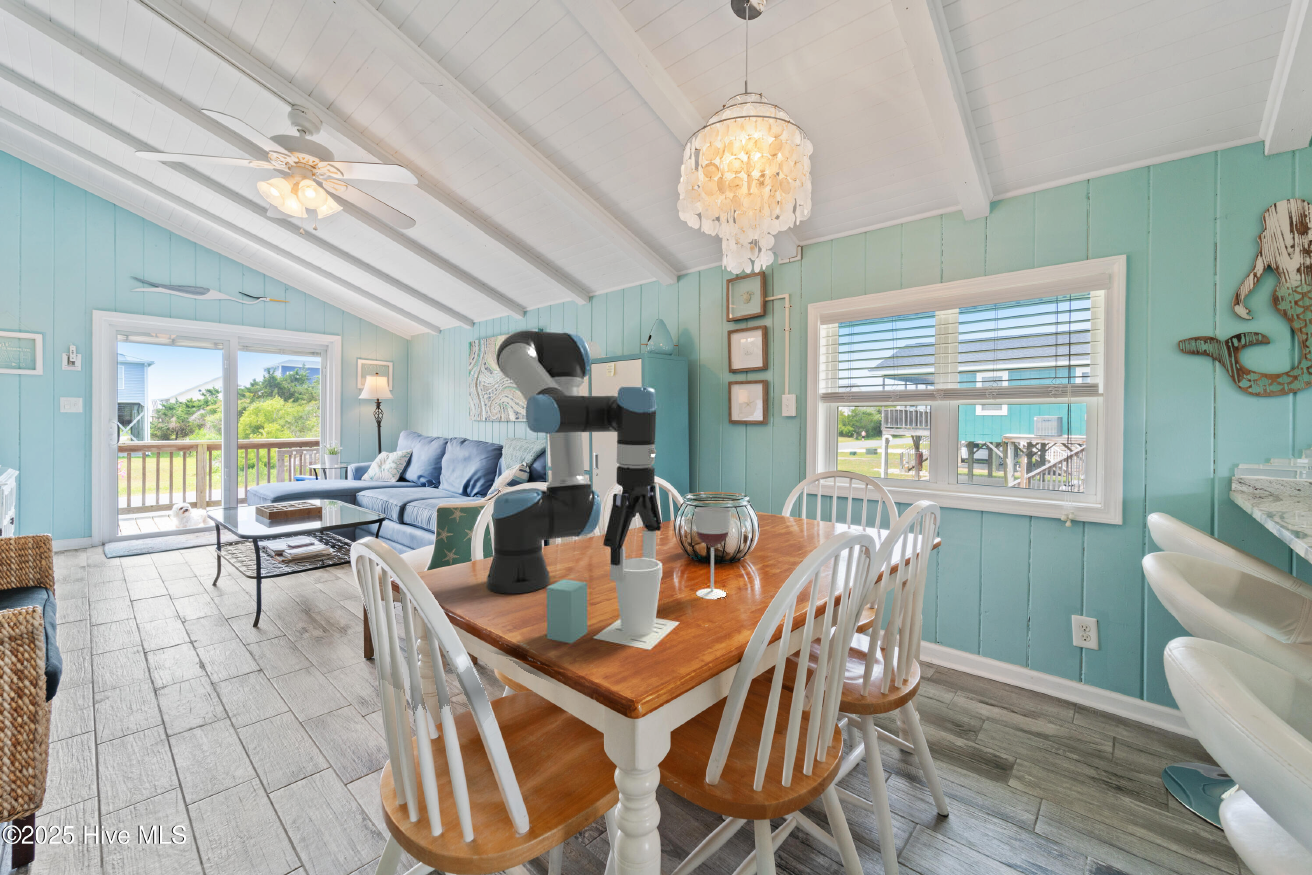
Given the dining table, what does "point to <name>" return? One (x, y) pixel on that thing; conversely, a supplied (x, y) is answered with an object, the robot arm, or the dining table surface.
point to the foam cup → (639, 595)
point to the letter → (645, 642)
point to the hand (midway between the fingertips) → (634, 570)
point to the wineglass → (712, 538)
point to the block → (566, 610)
